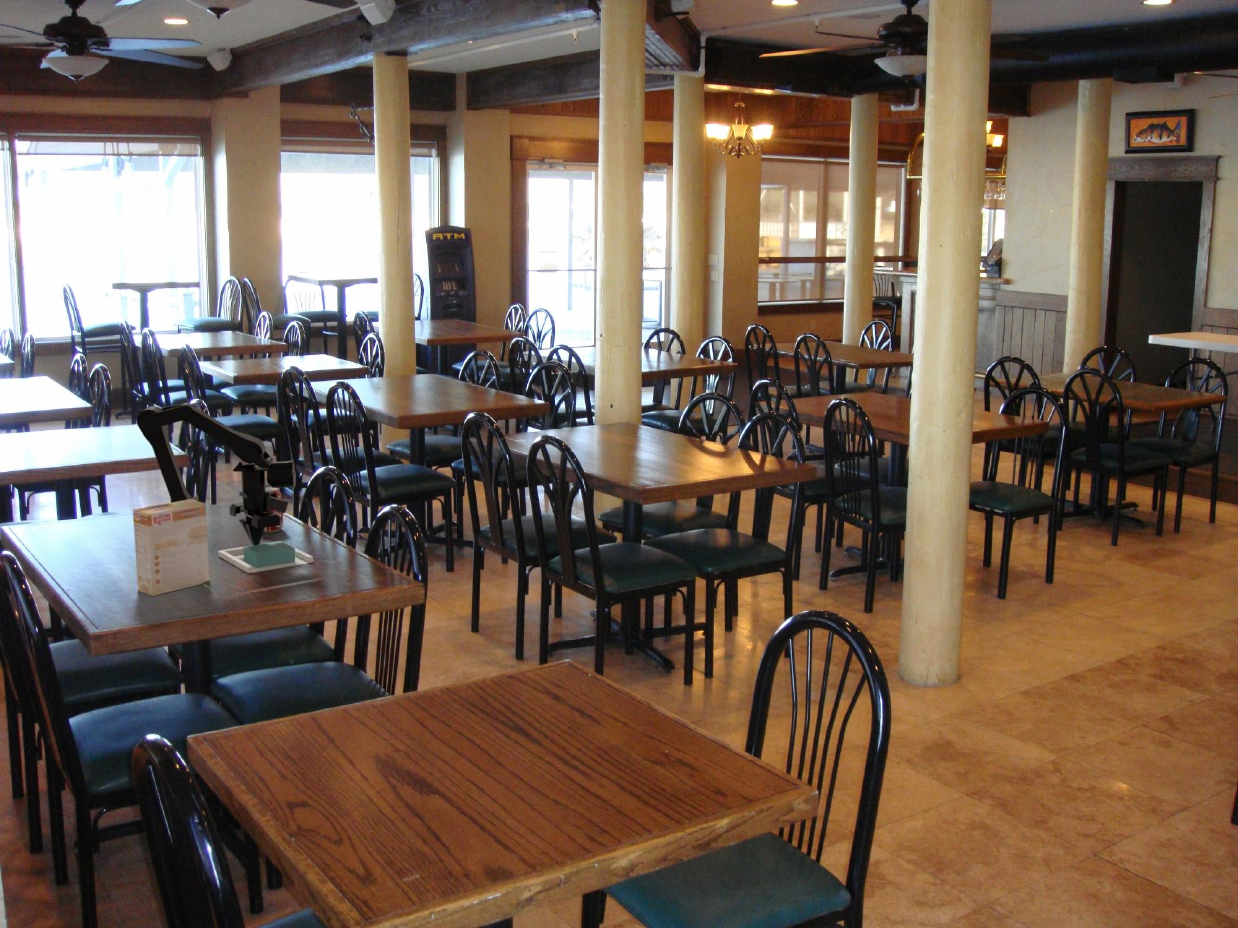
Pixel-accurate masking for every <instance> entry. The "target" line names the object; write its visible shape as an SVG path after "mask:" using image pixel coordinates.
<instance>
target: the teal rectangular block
mask: <svg viewBox="0 0 1238 928" xmlns="http://www.w3.org/2000/svg"><path fill="white" fill-rule="evenodd" d="M278 541H279V542H278ZM278 541H274V542H273V541H272V542H273V543H272V542H267V544H265V543H260V545H254V546H252V545H248V546H247V545H246V546H247V547H246V546H242V547H243V548H244V561H245V562H247V563H249V564H251V565H252V566H254V567H256V568H261V567H267V566H273V565H278V564H284V563H290V562H295V548H296V547H294V546H292V545H289V544H288V543H286V542H285V541H281V540H278Z"/></svg>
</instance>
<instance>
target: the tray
mask: <svg viewBox="0 0 1238 928" xmlns="http://www.w3.org/2000/svg"><path fill="white" fill-rule="evenodd" d="M279 541H280V540H278V541H277V542H279ZM267 543H268V542H267ZM267 543H266V542H265V543H264V544H267ZM271 543H273V541H272V542H271ZM260 544H261V543H260ZM260 544H259V545H260ZM251 546H253V545H252V544H251ZM243 547H244V546H241V547H235V548H228V549H221V550H218V551H217V555H218V558H220V559H222V560H224V561H226V562H227V563H229V564H231V565H233V566H234V567H236V568H238V569H240V570H241V571H243V572H245V573H247V574H252V573H259V572H264V571H269V570H277V569H283V568H288V567H295V566H299V565H300V566H301V565H306V564H313V563H314V557H313V556H312V555H310V554H308V553H306V552H305V551H302V550H300V549H298V548H297V547H294V548H295V562H290V563H284V564H278V565H273V566H267V567H261V568H256V567H254V566H252V565H251V564H249V563H247V562H245V561H244V548H243ZM245 547H247V545H245Z"/></svg>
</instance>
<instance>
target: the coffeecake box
mask: <svg viewBox="0 0 1238 928" xmlns="http://www.w3.org/2000/svg"><path fill="white" fill-rule="evenodd" d="M206 504H207V503H205V502H203V501H199V502H198V501H196V500H193V499H188V500H183V501H178V502H172V503H171V502H166V503H163V504H157V505H152V506H147V507H146V506H145V507H142V508H141V507H140V508H134V509H132V515H133V517H132V519H133V533H134V548H135V563H136V564H135V565H136V566H135V567H136V579H137V591H139V592H141V593H144V594H147V595H149V596H151V595H152V596H153V597H154V596H158V595H162V594H166V593H170V592H174V591H179V590H182V589H187V588H188V589H189V588H192V587H195V586H200V585H203V584H205V582H208V581H211V580H210V559H209V546H208V545H209V544H208V543H209V542H208V526H207V505H206ZM152 596H151V597H152Z"/></svg>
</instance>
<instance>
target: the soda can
mask: <svg viewBox="0 0 1238 928" xmlns="http://www.w3.org/2000/svg"><path fill="white" fill-rule="evenodd" d="M265 489H266V491H267V492H273V493H276V494H277V496H278V498H280V499H283V494H282V493H281V490H280V488H272V486H271V485H269V486H265ZM271 512H273V513H275V514H277V515H278V516H279V517H281V525H280V526H273V527H266V528H264V531H263V533H265V534H267V533H268V534H269V533H272V534H273V533H277V532H279V531H280V530H281V529H283V528H284V526H283V525H284V513H281V512H279V511H275V510H271ZM264 513H269V512H264Z"/></svg>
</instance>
